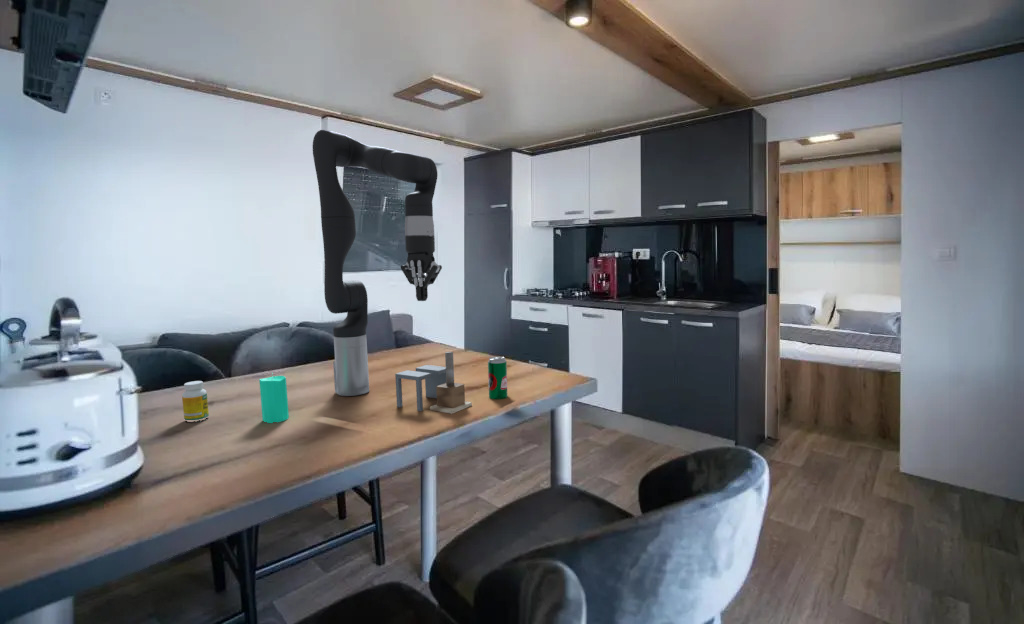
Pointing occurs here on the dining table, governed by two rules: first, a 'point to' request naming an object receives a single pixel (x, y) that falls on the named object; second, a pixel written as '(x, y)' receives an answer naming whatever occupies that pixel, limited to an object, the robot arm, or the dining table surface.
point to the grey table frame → (432, 379)
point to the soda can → (497, 378)
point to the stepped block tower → (450, 391)
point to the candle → (274, 399)
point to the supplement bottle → (195, 401)
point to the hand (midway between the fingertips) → (422, 300)
